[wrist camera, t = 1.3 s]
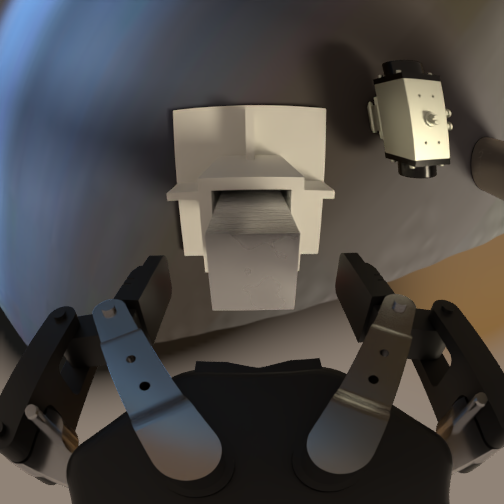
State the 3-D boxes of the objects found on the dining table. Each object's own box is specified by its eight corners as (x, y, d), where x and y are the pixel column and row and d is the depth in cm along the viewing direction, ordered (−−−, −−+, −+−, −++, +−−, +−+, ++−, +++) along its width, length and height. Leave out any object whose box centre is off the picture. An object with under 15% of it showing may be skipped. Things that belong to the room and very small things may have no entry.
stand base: (322, 109, 28) (387, 98, 13) (315, 248, 36) (353, 330, 21) (176, 111, 28) (112, 101, 13) (187, 250, 35) (151, 333, 21)
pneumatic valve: (369, 163, 30) (422, 185, 20) (354, 74, 25) (404, 54, 15) (404, 159, 30) (463, 180, 19) (392, 74, 25) (449, 61, 14)
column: (269, 165, 29) (302, 231, 11) (269, 202, 31) (295, 312, 13) (231, 166, 29) (202, 232, 11) (232, 203, 31) (210, 313, 13)
